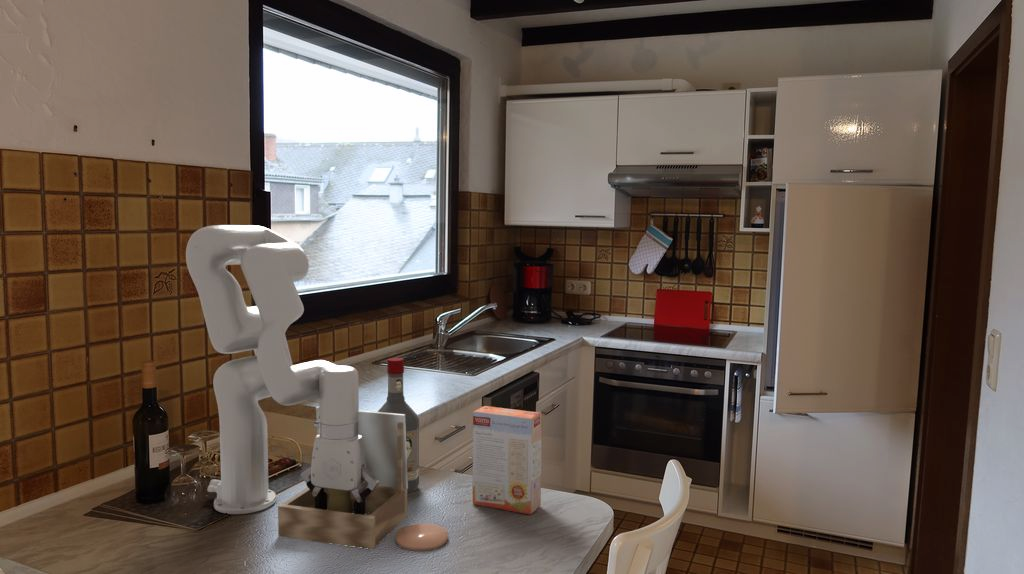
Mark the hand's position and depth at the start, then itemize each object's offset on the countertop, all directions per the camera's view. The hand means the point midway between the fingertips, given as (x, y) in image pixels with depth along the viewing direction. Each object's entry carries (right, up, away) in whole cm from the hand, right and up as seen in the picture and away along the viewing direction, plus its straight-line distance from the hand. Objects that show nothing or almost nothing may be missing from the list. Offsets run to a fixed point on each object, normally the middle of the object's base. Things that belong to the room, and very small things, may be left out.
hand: (340, 515), depth 144 cm
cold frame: (+1, -3, +2) cm, 4 cm away
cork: (0, -3, 0) cm, 3 cm away
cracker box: (+33, -2, +14) cm, 36 cm away
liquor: (+7, -1, +23) cm, 24 cm away
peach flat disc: (+17, -3, -3) cm, 17 cm away
